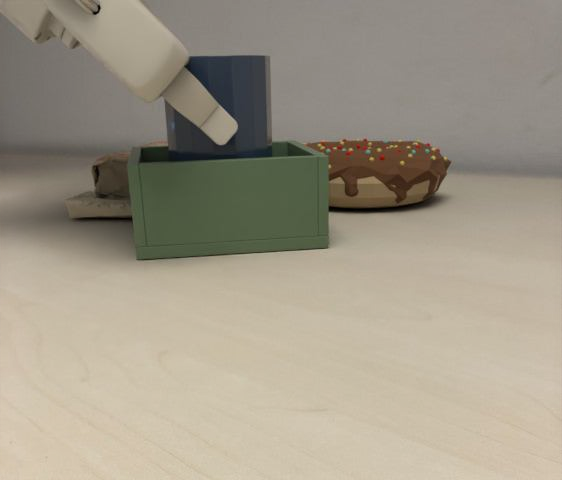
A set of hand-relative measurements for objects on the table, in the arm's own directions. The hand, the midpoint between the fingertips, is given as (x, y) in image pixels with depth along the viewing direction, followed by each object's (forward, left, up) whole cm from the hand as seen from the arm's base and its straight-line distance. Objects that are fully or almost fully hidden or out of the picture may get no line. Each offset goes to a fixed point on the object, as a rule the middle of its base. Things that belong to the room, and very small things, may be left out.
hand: (227, 131), depth 48 cm
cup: (-1, 0, -5) cm, 5 cm away
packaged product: (-5, +16, -7) cm, 18 cm away
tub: (0, 0, -7) cm, 7 cm away
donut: (+13, +11, -7) cm, 19 cm away
